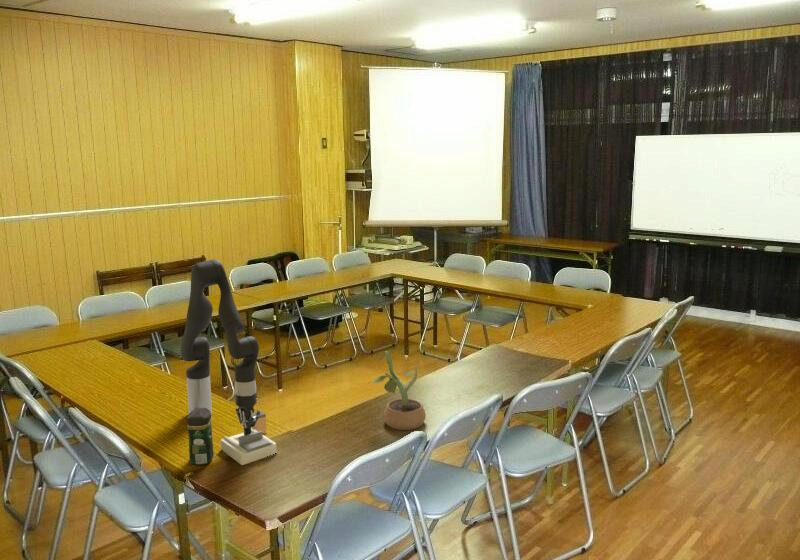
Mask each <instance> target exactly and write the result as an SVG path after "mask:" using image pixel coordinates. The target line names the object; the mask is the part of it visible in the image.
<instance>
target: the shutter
mask: <svg viewBox="0 0 800 560" xmlns="http://www.w3.org/2000/svg"><path fill="white" fill-rule="evenodd" d="M263 435H264V434H263V432H262V431H257V432H254V433H251V434H248V435H244V436H241V437H239V445H240V446H241V447H242V448H244V449H245V450H247V452H248V451H251V450H254V449H257V448H261V447H264V446H267V445H270V442H269V441H267V440H266V439H264V438H263Z"/></svg>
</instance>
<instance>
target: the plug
mask: <svg viewBox="0 0 800 560" xmlns="http://www.w3.org/2000/svg"><path fill="white" fill-rule="evenodd" d="M254 415H255V416H258V420H257V422H256V424H255V426H254V427H251V428H252V429H253V430H254V429H255V430H256V431H262V432H263V433H266V434H267V413H265V412H264V411H262V410H259V409H258V410H256V411H254Z"/></svg>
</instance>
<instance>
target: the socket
mask: <svg viewBox="0 0 800 560" xmlns="http://www.w3.org/2000/svg"><path fill="white" fill-rule="evenodd" d="M254 432H257V431H256V430H255V429H254V430H253V429H252V427H251V433H254ZM241 436H244V432H241V433H238V434H235V435H231V436H227V435H224V436H223V438H222V439H220V449H221V451H222V450H223V451H222V452H224V453H225V454H226V455H227V456H229V457H230V458H232V459H233V460H234V461H236V463H238V464H240V465H241V466H244V465H247V464H250V463H254V462H256V461H259V460H261V459H264V458H265V459H266V458H268V457H271V456H274V455H276V454H275V453H277V454H278V452H277V451H278V450H277V442H275V441H273V440H272V439H271V438H268V437H267V436H265V434H263V438H264V439H266V440H267V441H269V442H270V445H267V446H264V447H261V448H257V449H254V450H251V451H248V452H247V450H245V449H244V448H242V447H241V446H240V445H239V437H241ZM273 454H274V455H273ZM270 455H271V456H270ZM267 456H268V457H267Z"/></svg>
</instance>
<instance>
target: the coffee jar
mask: <svg viewBox="0 0 800 560" xmlns="http://www.w3.org/2000/svg"><path fill="white" fill-rule="evenodd" d="M186 426H187V434H188V435H187V436H188V452H189V453H188V454H189V462H190V464H192V465H195V466H202V465H206V464H210V463H211V461H212V460H213V458H214V444H213V443H214V441H213V426H212V415H211V412H210V410H208V409H207V408H195V409H194V410H193V411H191V412H190V413H189V412H188V414H187V417H186Z"/></svg>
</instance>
